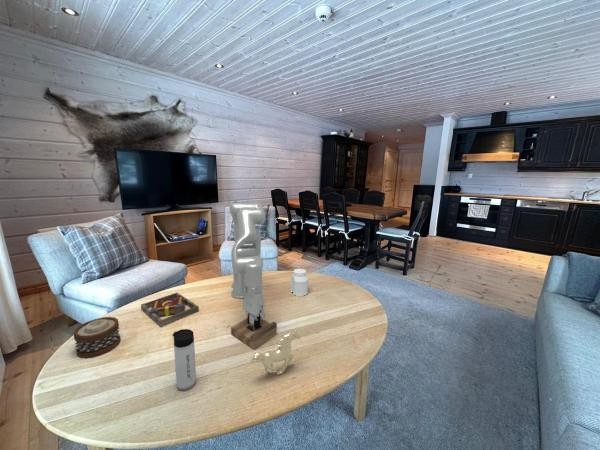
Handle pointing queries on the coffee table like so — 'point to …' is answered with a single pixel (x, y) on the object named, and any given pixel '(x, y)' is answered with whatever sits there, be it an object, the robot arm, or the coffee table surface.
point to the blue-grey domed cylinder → (252, 323)
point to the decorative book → (168, 306)
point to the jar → (299, 282)
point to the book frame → (171, 319)
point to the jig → (254, 333)
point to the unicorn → (277, 354)
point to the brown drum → (97, 337)
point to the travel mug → (184, 359)
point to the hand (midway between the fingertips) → (253, 324)
